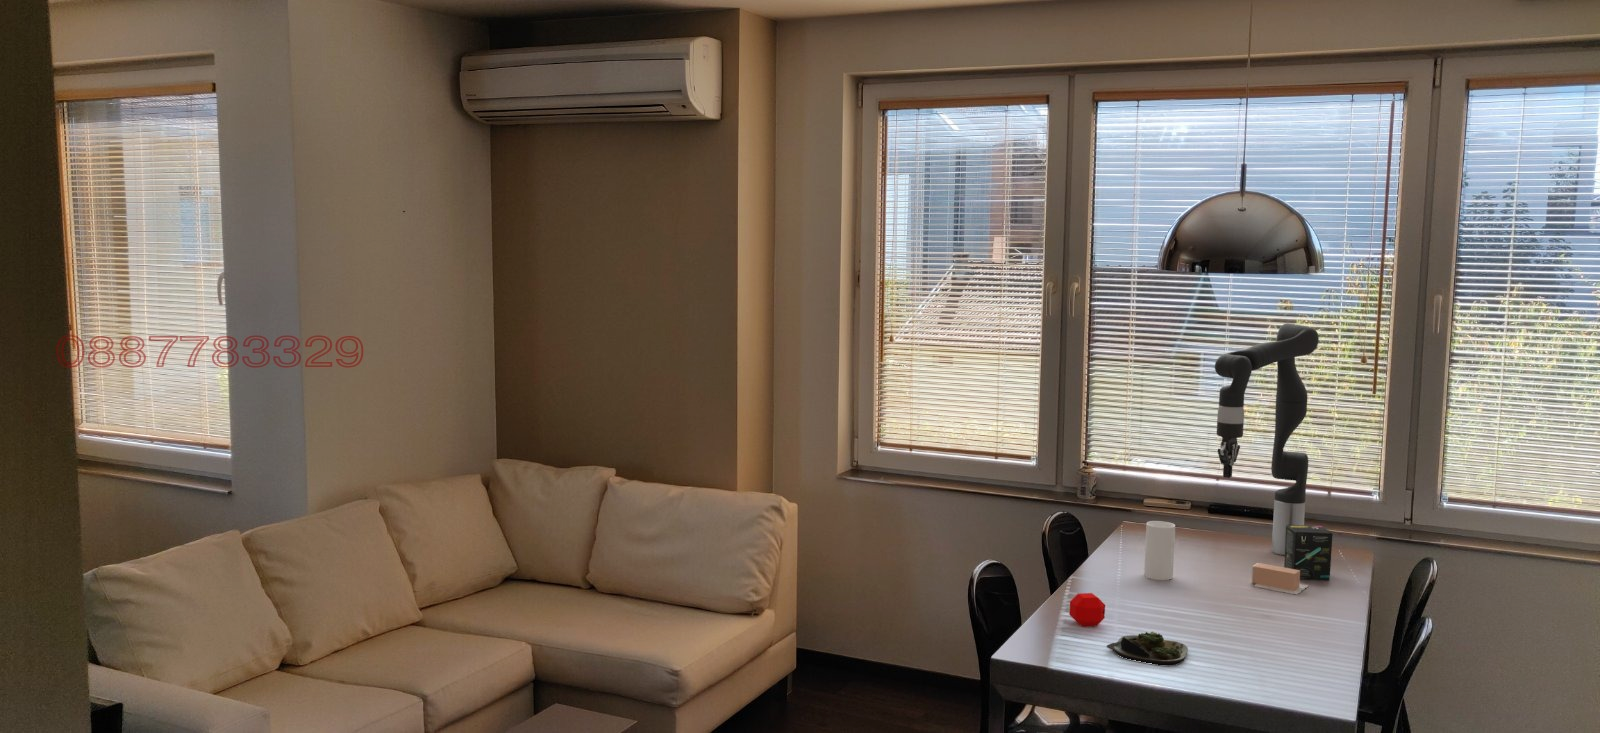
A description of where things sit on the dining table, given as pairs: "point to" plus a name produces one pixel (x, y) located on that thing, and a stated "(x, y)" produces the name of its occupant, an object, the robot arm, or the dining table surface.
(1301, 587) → the mat
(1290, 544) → the tampon box
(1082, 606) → the ball
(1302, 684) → the dining table surface
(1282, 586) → the block
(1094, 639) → the dining table surface
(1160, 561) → the cup
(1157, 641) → the salad plate
